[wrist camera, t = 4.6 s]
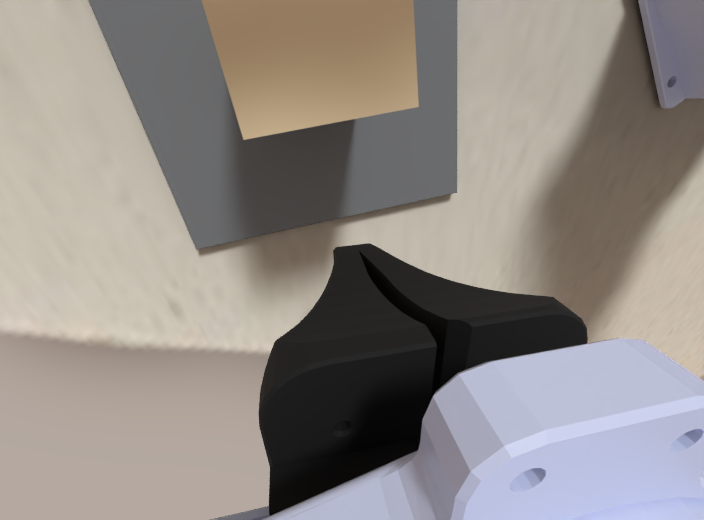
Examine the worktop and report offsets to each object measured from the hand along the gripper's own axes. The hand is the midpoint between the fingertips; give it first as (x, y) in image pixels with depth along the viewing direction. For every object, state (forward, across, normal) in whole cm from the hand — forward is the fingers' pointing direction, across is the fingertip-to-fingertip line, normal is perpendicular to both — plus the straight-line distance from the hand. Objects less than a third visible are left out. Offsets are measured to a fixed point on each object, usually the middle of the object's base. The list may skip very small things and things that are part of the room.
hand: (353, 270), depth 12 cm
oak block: (+6, +1, -7) cm, 9 cm away
